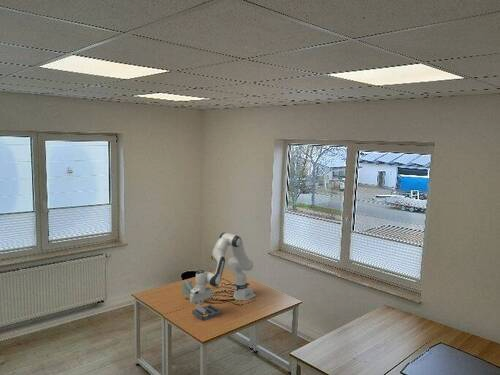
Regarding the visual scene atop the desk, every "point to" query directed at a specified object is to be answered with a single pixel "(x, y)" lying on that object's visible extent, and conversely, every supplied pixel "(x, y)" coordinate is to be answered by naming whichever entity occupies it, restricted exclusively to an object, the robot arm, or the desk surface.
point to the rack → (207, 313)
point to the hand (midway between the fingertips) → (200, 304)
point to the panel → (201, 310)
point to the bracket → (187, 289)
